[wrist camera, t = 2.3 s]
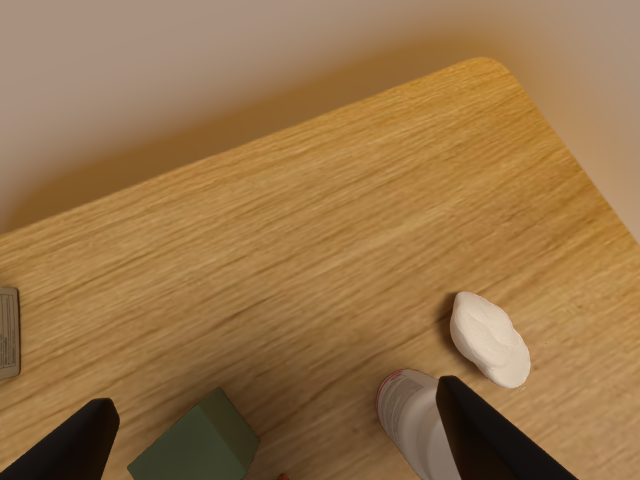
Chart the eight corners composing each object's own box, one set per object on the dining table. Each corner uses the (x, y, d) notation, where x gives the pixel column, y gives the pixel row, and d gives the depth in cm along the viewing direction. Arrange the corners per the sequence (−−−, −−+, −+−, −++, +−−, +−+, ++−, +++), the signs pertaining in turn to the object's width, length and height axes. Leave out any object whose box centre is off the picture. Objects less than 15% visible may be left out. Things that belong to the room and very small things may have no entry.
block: (260, 440, 21) (248, 473, 16) (204, 494, 20) (176, 544, 15) (219, 386, 21) (196, 403, 17) (164, 435, 20) (125, 467, 16)
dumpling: (417, 323, 23) (440, 307, 20) (462, 288, 25) (490, 268, 22) (486, 410, 21) (526, 410, 17) (531, 365, 23) (576, 356, 19)
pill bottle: (381, 448, 21) (429, 531, 13) (370, 373, 22) (408, 405, 14) (448, 437, 21) (538, 512, 13) (434, 364, 22) (508, 390, 14)
